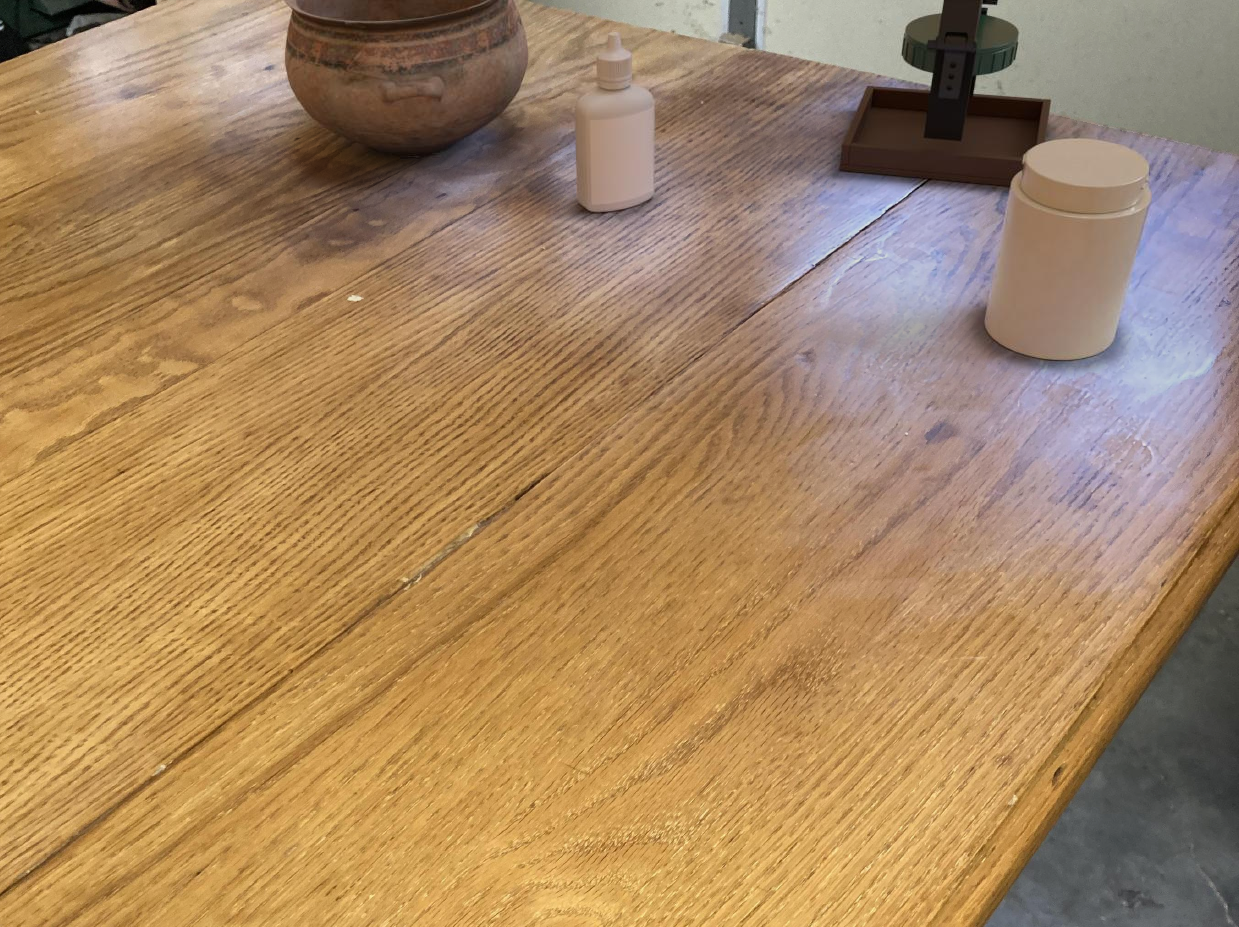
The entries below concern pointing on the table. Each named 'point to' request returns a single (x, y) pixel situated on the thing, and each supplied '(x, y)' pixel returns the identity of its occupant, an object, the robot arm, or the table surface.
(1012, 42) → the jar lid
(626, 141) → the eye dropper bottle
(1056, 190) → the jam jar
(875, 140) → the tray
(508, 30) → the cooking pot
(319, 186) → the table surface
